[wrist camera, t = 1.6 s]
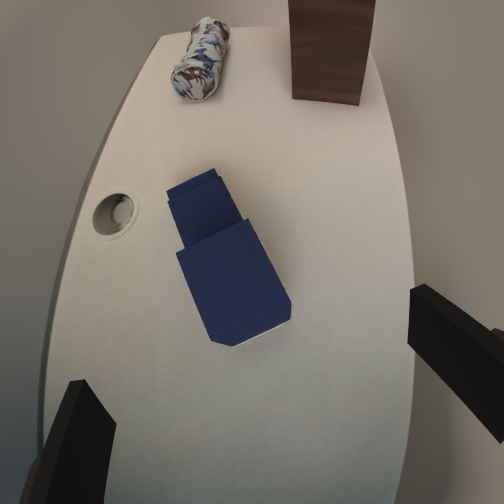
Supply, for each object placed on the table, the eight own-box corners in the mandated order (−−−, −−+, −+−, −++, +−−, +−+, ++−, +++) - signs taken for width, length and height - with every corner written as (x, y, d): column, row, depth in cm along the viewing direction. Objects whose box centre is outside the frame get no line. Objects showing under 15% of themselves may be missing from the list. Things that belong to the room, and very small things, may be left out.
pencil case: (221, 102, 52) (210, 61, 43) (178, 106, 53) (162, 68, 44) (233, 44, 59) (226, 10, 50) (198, 48, 60) (188, 16, 51)
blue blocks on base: (291, 320, 37) (293, 302, 26) (233, 348, 37) (208, 341, 26) (223, 184, 45) (203, 130, 34) (174, 207, 45) (142, 160, 34)
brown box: (358, 106, 48) (379, -35, 22) (292, 99, 50) (284, -45, 24) (350, 38, 57) (356, -62, 31) (300, 33, 59) (294, -68, 33)
